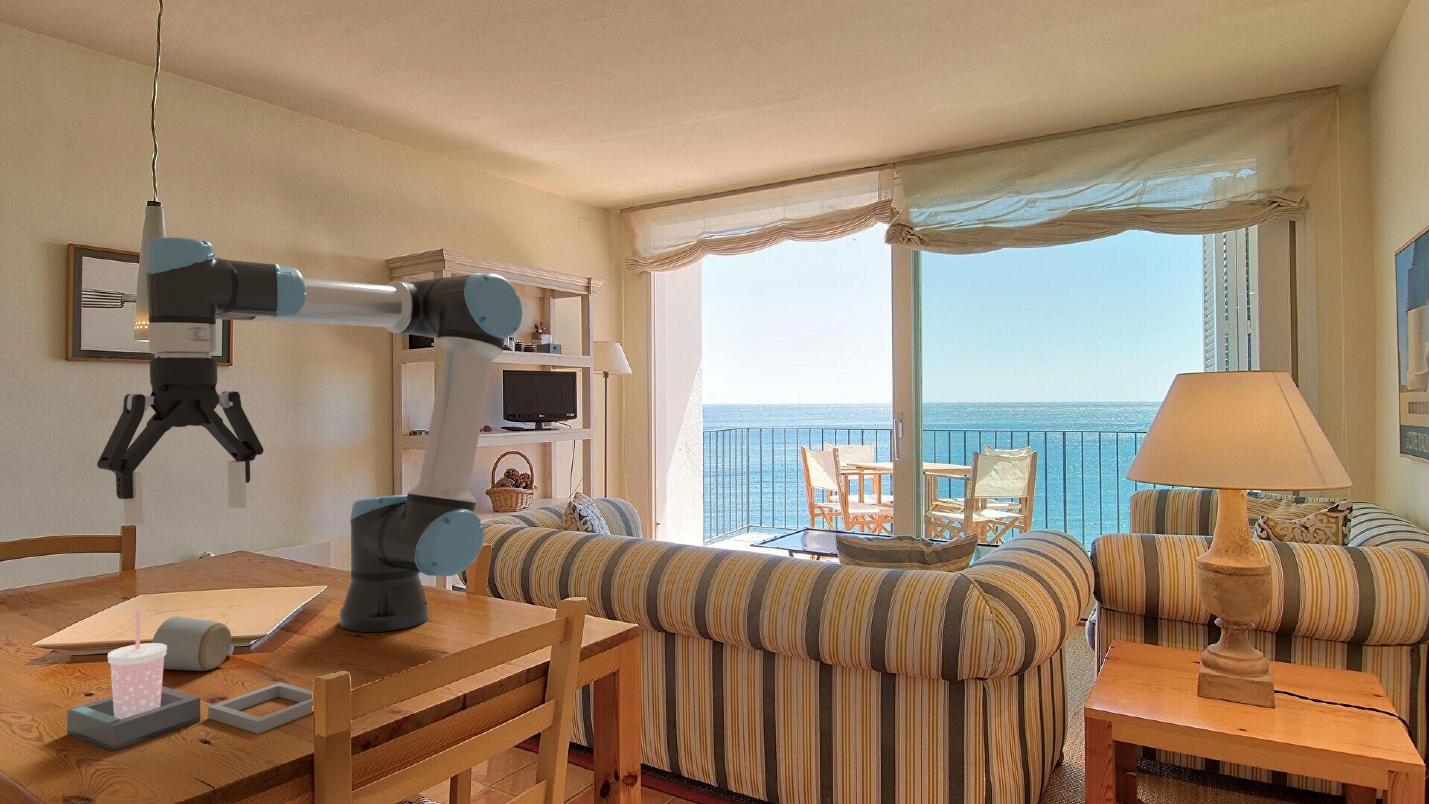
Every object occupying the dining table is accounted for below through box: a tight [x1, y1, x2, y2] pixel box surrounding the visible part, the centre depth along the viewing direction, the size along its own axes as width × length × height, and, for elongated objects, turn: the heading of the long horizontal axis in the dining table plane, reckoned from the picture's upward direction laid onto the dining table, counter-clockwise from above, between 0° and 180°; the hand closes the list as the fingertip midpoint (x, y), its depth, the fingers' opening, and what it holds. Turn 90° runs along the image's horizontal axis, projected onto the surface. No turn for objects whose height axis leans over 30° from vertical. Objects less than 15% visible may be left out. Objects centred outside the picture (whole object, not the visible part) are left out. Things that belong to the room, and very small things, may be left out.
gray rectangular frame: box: [207, 681, 313, 735], centre depth 107 cm, size 10×10×2 cm
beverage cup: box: [107, 609, 167, 719], centre depth 101 cm, size 6×6×14 cm
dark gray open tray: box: [66, 685, 201, 752], centre depth 101 cm, size 10×10×3 cm
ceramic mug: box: [151, 615, 235, 672], centre depth 124 cm, size 11×8×8 cm
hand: (188, 515), depth 109 cm, fingers open, 13 cm apart
